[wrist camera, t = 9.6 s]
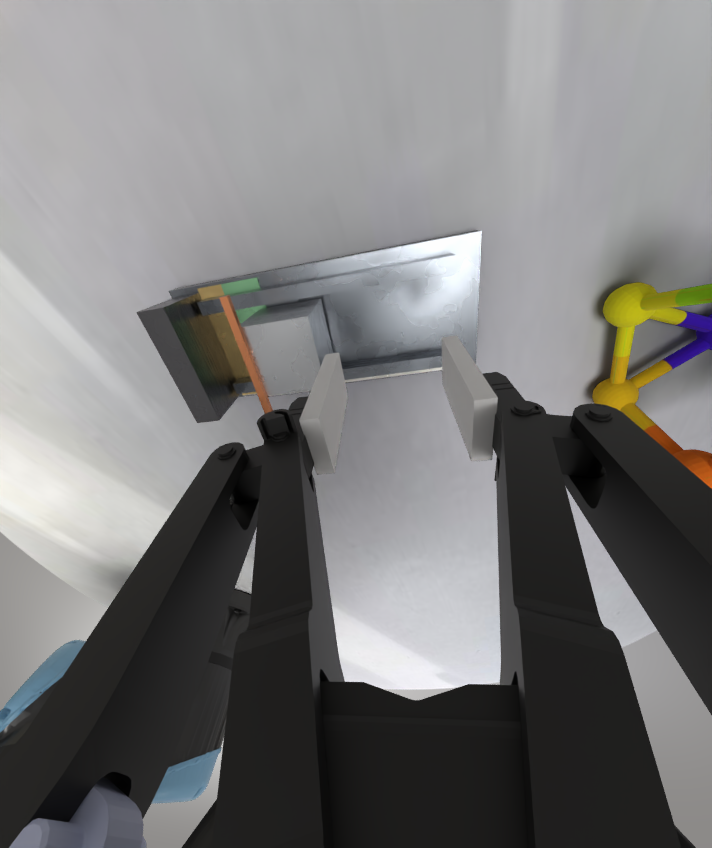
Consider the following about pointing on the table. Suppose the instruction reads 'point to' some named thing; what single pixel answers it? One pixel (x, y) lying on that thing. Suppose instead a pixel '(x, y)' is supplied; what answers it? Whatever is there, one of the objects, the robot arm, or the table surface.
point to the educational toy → (622, 394)
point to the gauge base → (327, 316)
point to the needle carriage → (281, 346)
